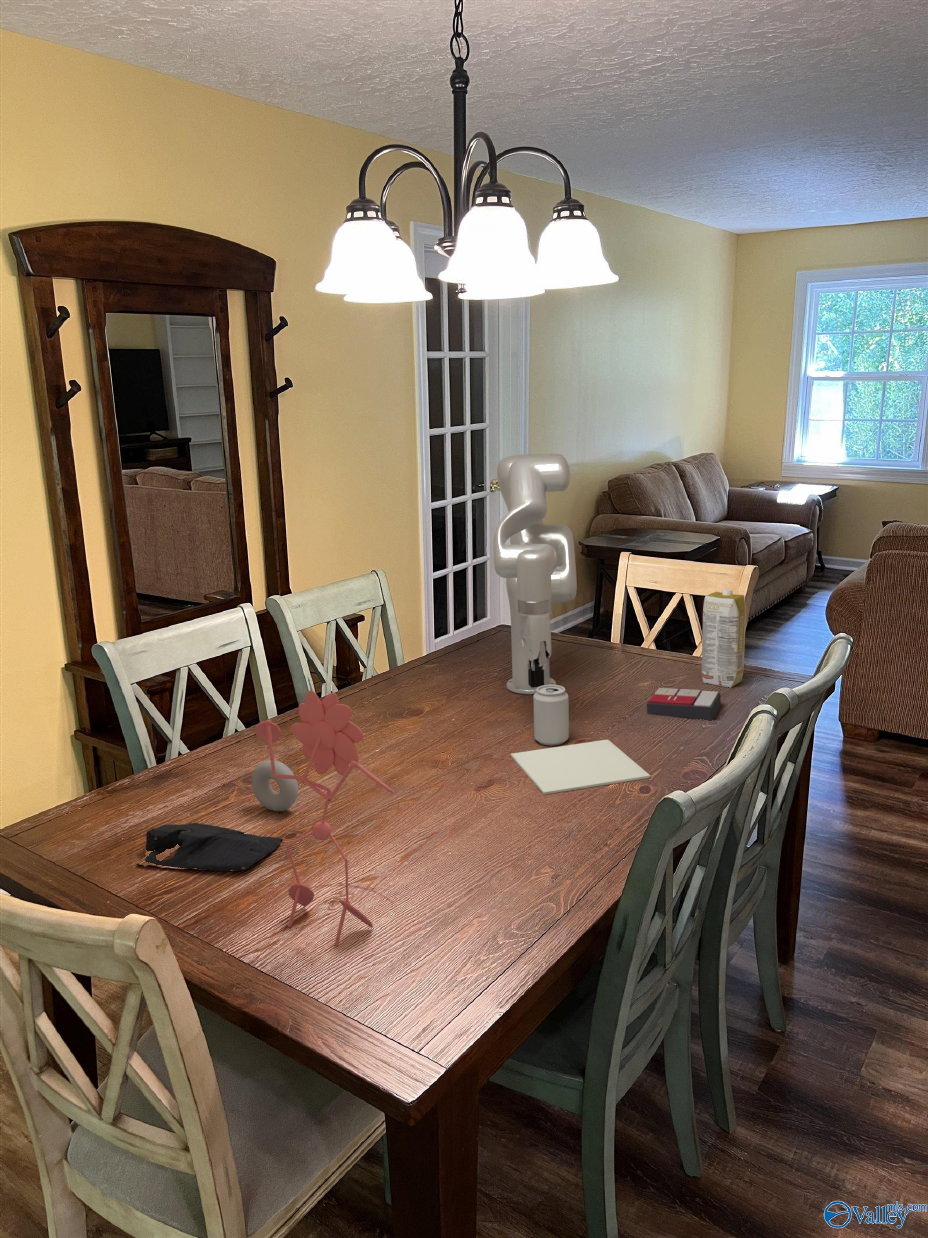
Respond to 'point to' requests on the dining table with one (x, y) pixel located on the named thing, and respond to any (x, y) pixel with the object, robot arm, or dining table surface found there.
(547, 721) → the can
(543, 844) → the dining table surface
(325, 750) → the pink wire flower sculpture
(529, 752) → the mat
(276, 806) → the donut
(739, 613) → the juice carton
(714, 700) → the gray and red box
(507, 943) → the dining table surface
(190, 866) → the crumpled black cloth
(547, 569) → the robot arm
